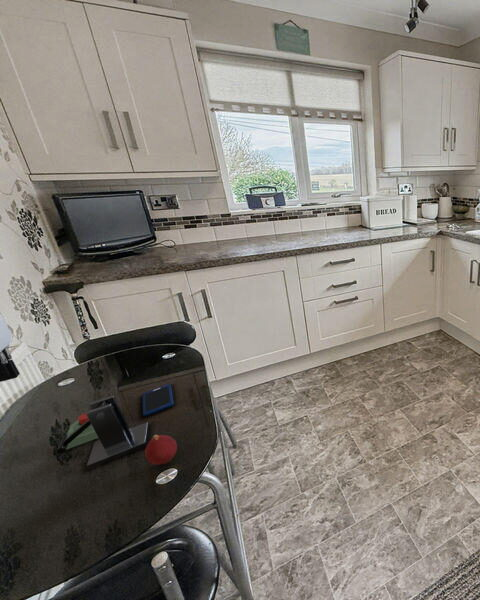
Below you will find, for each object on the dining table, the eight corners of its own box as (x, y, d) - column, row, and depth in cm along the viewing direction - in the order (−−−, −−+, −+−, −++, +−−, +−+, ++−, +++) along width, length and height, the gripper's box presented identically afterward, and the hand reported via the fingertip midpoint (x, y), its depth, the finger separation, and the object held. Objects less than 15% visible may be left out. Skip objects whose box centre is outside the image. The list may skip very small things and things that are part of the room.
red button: (79, 427, 84) (76, 422, 83) (82, 419, 87) (79, 414, 86) (97, 421, 85) (94, 415, 85) (99, 413, 88) (96, 408, 88)
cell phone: (171, 385, 105) (170, 383, 105) (174, 405, 95) (173, 403, 94) (143, 395, 101) (142, 393, 101) (143, 417, 91) (142, 415, 90)
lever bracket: (88, 469, 75) (63, 425, 70) (96, 445, 82) (74, 404, 78) (146, 446, 80) (126, 404, 76) (149, 425, 87) (131, 386, 83)
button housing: (66, 449, 82) (59, 437, 80) (74, 431, 88) (68, 419, 87) (116, 431, 87) (110, 419, 85) (120, 415, 93) (115, 403, 92)
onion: (151, 462, 75) (137, 435, 72) (179, 448, 78) (168, 421, 76) (153, 477, 71) (139, 449, 68) (183, 462, 74) (171, 434, 71)
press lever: (63, 455, 73) (51, 451, 72) (69, 442, 77) (58, 437, 76) (111, 413, 76) (101, 408, 75) (115, 403, 80) (105, 398, 79)
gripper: (-41, 298, 72) (-1, 370, 78) (-84, 318, 60) (-33, 401, 66) (8, 290, 76) (42, 360, 82) (-23, 308, 64) (20, 387, 70)
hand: (9, 378), depth 74 cm, fingers closed
